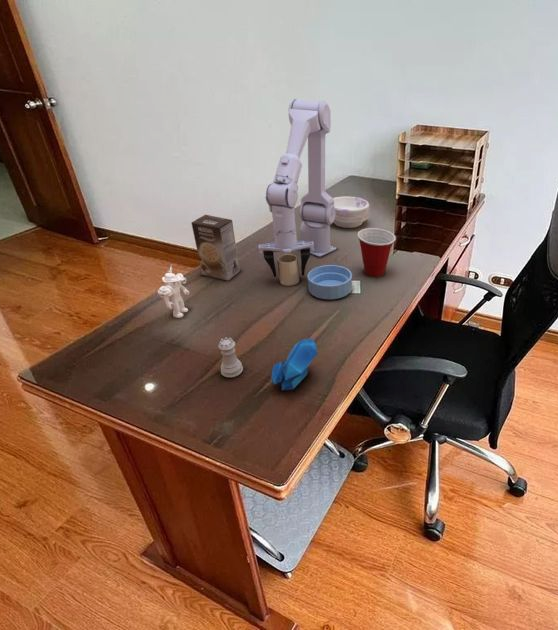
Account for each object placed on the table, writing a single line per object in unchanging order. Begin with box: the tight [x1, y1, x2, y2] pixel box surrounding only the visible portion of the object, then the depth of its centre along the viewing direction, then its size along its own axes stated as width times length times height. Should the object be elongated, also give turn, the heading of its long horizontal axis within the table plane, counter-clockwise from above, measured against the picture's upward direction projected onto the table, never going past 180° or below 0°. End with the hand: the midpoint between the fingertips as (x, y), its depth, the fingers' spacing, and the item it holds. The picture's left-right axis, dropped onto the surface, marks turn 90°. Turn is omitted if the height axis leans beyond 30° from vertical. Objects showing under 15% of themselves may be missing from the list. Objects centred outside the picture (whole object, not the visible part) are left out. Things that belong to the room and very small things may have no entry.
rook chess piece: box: [217, 336, 244, 379], centre depth 89 cm, size 4×4×8 cm
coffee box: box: [191, 214, 241, 281], centre depth 122 cm, size 9×6×16 cm
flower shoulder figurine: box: [157, 264, 190, 319], centre depth 105 cm, size 9×4×12 cm, turn 169°
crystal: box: [270, 338, 319, 391], centre depth 88 cm, size 7×9×12 cm
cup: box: [276, 253, 300, 286], centre depth 122 cm, size 6×6×7 cm
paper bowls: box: [332, 195, 370, 229], centre depth 158 cm, size 15×15×8 cm
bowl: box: [306, 264, 353, 300], centre depth 119 cm, size 12×12×4 cm
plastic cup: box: [357, 227, 396, 278], centre depth 126 cm, size 11×11×12 cm
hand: (289, 274), depth 123 cm, fingers open, 7 cm apart
